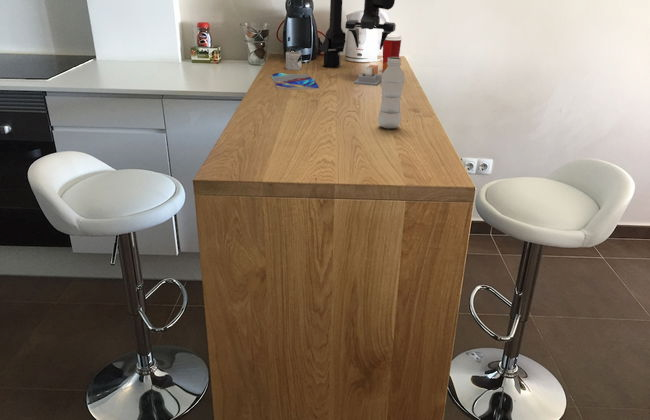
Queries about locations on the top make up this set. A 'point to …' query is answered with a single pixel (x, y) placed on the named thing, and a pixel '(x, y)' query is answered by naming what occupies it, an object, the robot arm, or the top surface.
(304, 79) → the multicolored flat slab
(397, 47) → the coffee cup
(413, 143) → the top surface
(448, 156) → the top surface
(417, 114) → the top surface
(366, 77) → the square frame with handle
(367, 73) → the keeper
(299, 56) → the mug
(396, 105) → the plastic bottle
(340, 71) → the top surface
